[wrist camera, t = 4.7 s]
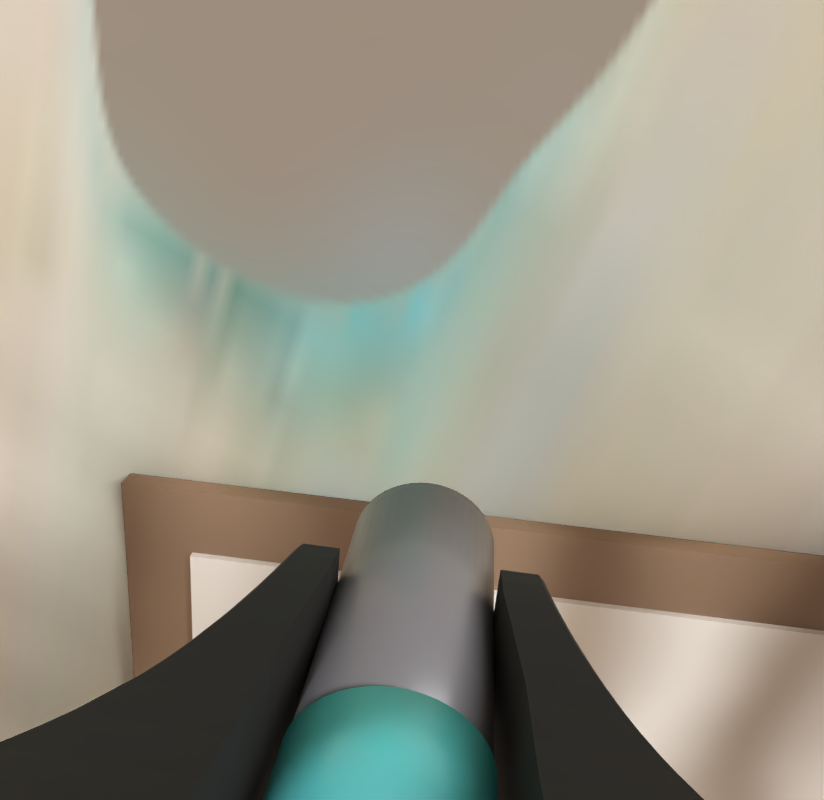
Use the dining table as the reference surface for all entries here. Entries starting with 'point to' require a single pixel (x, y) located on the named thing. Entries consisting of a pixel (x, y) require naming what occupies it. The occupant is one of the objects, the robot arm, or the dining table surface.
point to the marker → (402, 662)
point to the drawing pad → (575, 600)
